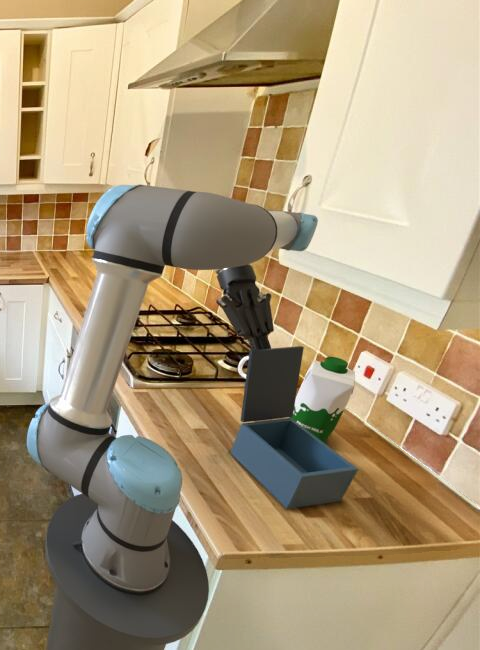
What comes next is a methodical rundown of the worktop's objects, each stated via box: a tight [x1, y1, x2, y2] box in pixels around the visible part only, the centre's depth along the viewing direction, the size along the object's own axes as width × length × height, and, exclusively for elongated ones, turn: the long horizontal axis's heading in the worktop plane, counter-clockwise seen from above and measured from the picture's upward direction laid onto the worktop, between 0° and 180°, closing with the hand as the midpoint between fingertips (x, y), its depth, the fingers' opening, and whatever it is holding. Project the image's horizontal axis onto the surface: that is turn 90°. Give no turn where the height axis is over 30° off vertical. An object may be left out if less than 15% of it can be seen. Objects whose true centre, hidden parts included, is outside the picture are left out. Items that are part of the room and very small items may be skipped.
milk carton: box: [289, 356, 356, 444], centre depth 98 cm, size 9×9×20 cm
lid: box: [240, 345, 305, 423], centre depth 91 cm, size 17×13×1 cm
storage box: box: [230, 417, 359, 510], centre depth 88 cm, size 16×13×9 cm
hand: (267, 365), depth 92 cm, fingers closed
